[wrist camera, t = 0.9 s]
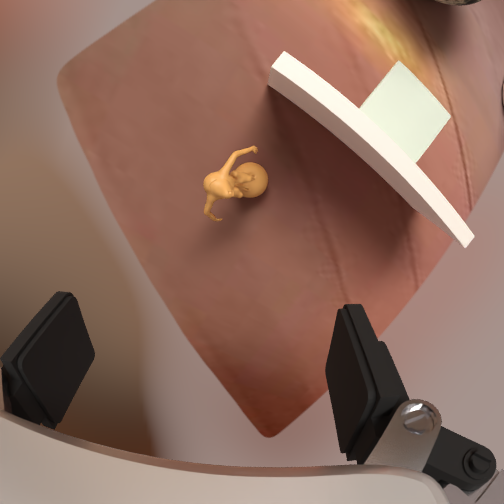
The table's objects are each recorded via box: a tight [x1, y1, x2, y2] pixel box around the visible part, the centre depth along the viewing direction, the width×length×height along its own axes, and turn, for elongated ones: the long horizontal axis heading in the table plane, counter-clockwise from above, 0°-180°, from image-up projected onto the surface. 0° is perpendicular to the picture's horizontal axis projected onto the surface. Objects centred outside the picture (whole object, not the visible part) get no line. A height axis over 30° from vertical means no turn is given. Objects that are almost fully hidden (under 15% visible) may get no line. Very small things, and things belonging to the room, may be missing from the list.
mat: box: [359, 60, 451, 163], centre depth 31 cm, size 10×10×1 cm
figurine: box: [203, 146, 268, 221], centre depth 30 cm, size 8×6×12 cm
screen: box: [268, 51, 475, 248], centre depth 28 cm, size 24×2×13 cm, turn 54°
